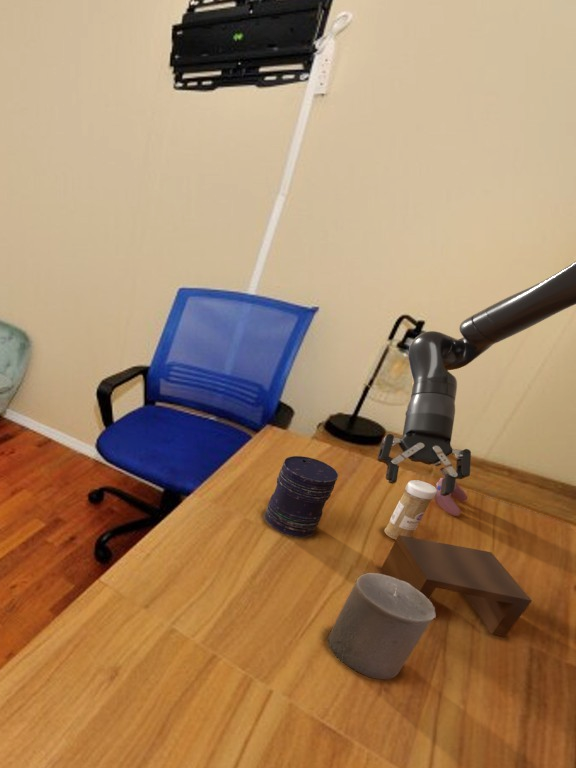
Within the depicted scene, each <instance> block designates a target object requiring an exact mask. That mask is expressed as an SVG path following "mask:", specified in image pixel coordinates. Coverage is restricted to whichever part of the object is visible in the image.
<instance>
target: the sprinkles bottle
mask: <svg viewBox="0 0 576 768" xmlns="http://www.w3.org/2000/svg"><path fill="white" fill-rule="evenodd" d="M436 488H437V487H435V486H434V485H433V484H430V483H429V482H427V481H423V480H418V479H411V480H409V481H408V482H407V483H406V485H405V487H404V492H403V494H402V496H401V497H400V499H399V500H398V503H397V505H396V506H395V509H394V511H393V513H392V514H391V516H390V519H389V522H388V523H387V526H386V527H385V528H384V533H385V535H386V536H387V537H389V538H391V539H392V540H394V541H396V539H397V537H398V535H402V536H407V537H412V536H413V534H414V533H415V530H417V528H418V526H419V524H420V523H421V521H422V519H423V517H424V515H425V513H426V510H427V508H428V507H429V505H430V503H431V501H432V500H433V499H435V498H434V496H435V494H436V492H437V489H436Z"/></svg>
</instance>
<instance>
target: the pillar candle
mask: <svg viewBox="0 0 576 768" xmlns="http://www.w3.org/2000/svg"><path fill="white" fill-rule="evenodd" d="M436 614H437V613H436V607H435V606H434V604H433V602H432V601H431V600H430V598H429V599H428V598H426V596H425V595H424V594H422V593H421V592H420V591H419V590H417V589H415V588H414V587H413V586H411V585H410V584H409V583H407V582H405V581H401V580H399V579H396V578H394V577H391V576H387V575H384V574H383V573H376V572H369V573H367V572H366V573H364V574H361V575H360V576H359V577H357V579H356V581H355V583H354V585H353V587H352V589H351V591H350V593H349V594H348V596H347V598H346V600H345V602H344V604H343V606H342V608H341V609H340V612H339V614H338V616H337V618H336V620H335V622H334V623H333V627H332V628H331V631H330V632H329V633H328V637H327V644H328V645H329V648H330V650H331V652H332V653H333V654H334V655H335V656H336V658H338V659H339V661H341V662H342V663H343V664H344V665H346V666H347V667H349V668H350V669H352V670H353V671H355V672H357V673H360V674H362V675H363V676H366V677H368V678H373V679H377V680H391V679H393V678H396V677H397V676H398V674H399V672H401V670H402V668H403V667H404V665H405V663H406V662H407V660H408V659H409V657H410V656H411V654H412V652H413V651H414V649H415V647H416V646H417V645H418V643H419V641H420V640H421V638H422V636H423V635H424V633H425V631H426V630H427V628H428V627H429V625H430V624H431V622H432V621H433V620H434V618H436V616H437V615H436Z"/></svg>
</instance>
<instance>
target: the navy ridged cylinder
mask: <svg viewBox="0 0 576 768" xmlns="http://www.w3.org/2000/svg"><path fill="white" fill-rule="evenodd" d="M338 477H339V473H338V471H337V470H336V469H335V468H334V467H333V466H331V465H330V464H328V463H326V462H324V461H321V460H318V459H316V458H313V457H308V456H302V455H293V456H288V457H286V458H285V459H284V461H283V463H282V466H281V468H280V470H279V473H278V476H277V478H276V486H275V489H274V492H273V493H272V494H271V496H270V498H269V501H268V502H267V506H266V510H265V514H264V520H265V522H266V523H267V524H268V525H269V526H270V527H271V528H273V529H274V530H275V531H278V532H280V533H282V534H284V535H285V536H286V535H287V536H290V537H295V538H308V537H311V536H313V535H314V533H315V530H316V528H317V527H318V525H319V523H320V521H321V519H322V515H323V510H324V507H325V505H326V502H327V501H328V500H329V499H330V498H331V497H332V493H333V491H334V488H335V485H336V482H337V480H338Z"/></svg>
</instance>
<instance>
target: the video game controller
mask: <svg viewBox="0 0 576 768" xmlns="http://www.w3.org/2000/svg"><path fill="white" fill-rule="evenodd" d="M443 478H444V477H440V478H439V480H438V481H437V482H436V487H435V488H436V489H437V492H436V494H435V496H434V498H433V499H434V501H435V502H436V503H437V505H438V506H439V507H441V509H442V510H443V511H444V512H446V513H447V514H448V515H450V516H453V517H459V516H460V515H461V513H462V511H461V509H460V507H459V506H458V505H457V504H456V503H455V501H454V500H453V498H454V499H455V500H456V501H459V502H466V501H467V500H468V495H467V493H466V492H465V490H463V489H462V488H461V487H460V485H459V483H457V480H455V487H454V491H453V493H450V494H449V495H447V496H443V495H440V492H441V485H442V479H443Z"/></svg>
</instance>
